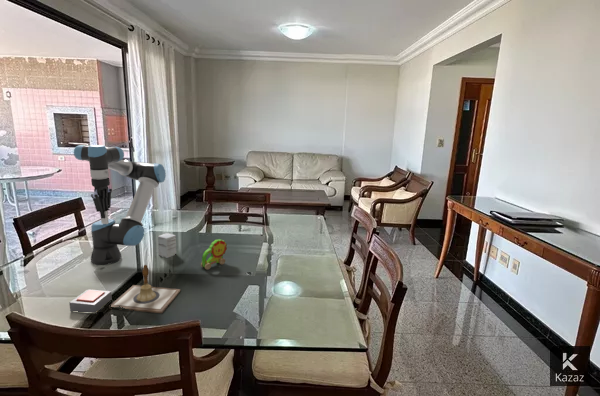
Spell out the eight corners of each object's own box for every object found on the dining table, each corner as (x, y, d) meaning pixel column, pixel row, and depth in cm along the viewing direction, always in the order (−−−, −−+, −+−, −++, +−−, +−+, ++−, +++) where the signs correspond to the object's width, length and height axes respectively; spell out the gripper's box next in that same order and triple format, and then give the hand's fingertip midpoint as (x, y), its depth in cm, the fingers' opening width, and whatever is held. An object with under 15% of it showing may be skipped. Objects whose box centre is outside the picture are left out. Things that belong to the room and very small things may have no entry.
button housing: (70, 311, 137) (69, 302, 136) (88, 298, 148) (87, 289, 147) (95, 314, 136) (94, 304, 135) (111, 300, 147) (111, 291, 146)
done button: (77, 305, 138) (76, 299, 137) (89, 296, 145) (88, 290, 144) (93, 306, 138) (93, 300, 137) (104, 297, 145) (104, 291, 144)
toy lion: (205, 271, 180) (205, 245, 176) (200, 267, 183) (199, 242, 180) (228, 262, 192) (228, 238, 188) (222, 259, 195) (223, 236, 192)
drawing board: (108, 308, 141) (108, 306, 141) (133, 286, 160) (133, 284, 159) (162, 313, 140) (161, 311, 140) (180, 290, 158) (180, 288, 158)
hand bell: (150, 290, 155) (149, 259, 151) (159, 296, 150) (158, 265, 146) (133, 296, 149) (131, 265, 145) (141, 304, 144) (139, 271, 140)
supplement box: (158, 255, 195) (157, 235, 192) (168, 251, 202) (167, 232, 199) (166, 258, 192) (166, 238, 189) (176, 254, 198) (176, 234, 195)
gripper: (99, 181, 150) (104, 228, 156) (115, 175, 162) (120, 219, 168) (83, 179, 150) (89, 227, 156) (101, 174, 162) (106, 218, 169)
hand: (105, 223), depth 162 cm, fingers closed
